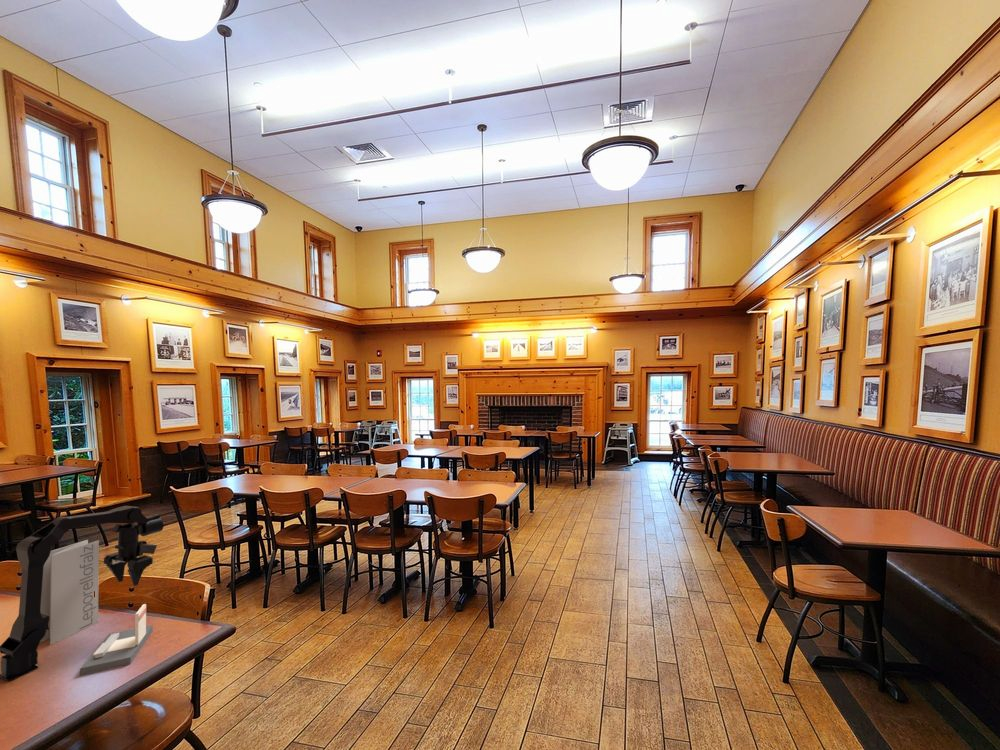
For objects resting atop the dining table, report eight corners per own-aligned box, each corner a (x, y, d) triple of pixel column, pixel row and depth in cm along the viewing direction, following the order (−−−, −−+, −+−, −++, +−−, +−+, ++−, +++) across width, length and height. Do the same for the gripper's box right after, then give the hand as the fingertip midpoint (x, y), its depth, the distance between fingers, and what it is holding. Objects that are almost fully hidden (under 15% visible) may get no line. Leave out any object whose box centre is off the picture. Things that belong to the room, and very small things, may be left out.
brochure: (50, 644, 143) (51, 555, 144) (38, 643, 144) (39, 554, 145) (98, 622, 157) (98, 540, 158) (86, 620, 158) (87, 539, 159)
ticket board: (80, 675, 127) (80, 663, 127) (109, 639, 145) (109, 629, 145) (130, 663, 132) (130, 652, 132) (152, 630, 150) (152, 621, 150)
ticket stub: (135, 645, 137) (135, 614, 138) (142, 634, 144) (143, 604, 144) (138, 644, 138) (138, 613, 138) (146, 633, 144) (146, 603, 144)
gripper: (168, 536, 160) (168, 577, 160) (137, 531, 167) (137, 571, 166) (134, 546, 150) (134, 591, 149) (103, 540, 156) (102, 583, 156)
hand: (128, 583), depth 155 cm, fingers open, 9 cm apart
